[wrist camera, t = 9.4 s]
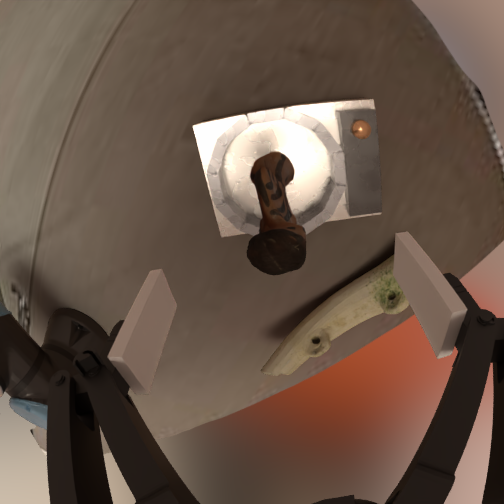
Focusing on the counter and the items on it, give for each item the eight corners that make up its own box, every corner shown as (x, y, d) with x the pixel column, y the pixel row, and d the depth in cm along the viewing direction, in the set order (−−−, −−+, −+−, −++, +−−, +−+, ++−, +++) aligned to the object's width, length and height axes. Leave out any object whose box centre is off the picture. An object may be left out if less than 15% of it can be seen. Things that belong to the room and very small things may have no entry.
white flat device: (225, 224, 41) (219, 248, 36) (200, 120, 34) (186, 126, 28) (371, 203, 38) (387, 224, 33) (362, 96, 31) (381, 98, 26)
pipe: (399, 231, 40) (427, 270, 32) (421, 266, 43) (448, 306, 34) (259, 331, 51) (257, 378, 42) (290, 354, 54) (292, 398, 45)
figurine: (307, 195, 34) (338, 294, 19) (267, 212, 36) (267, 319, 20) (280, 138, 31) (294, 192, 16) (238, 157, 32) (211, 229, 17)
